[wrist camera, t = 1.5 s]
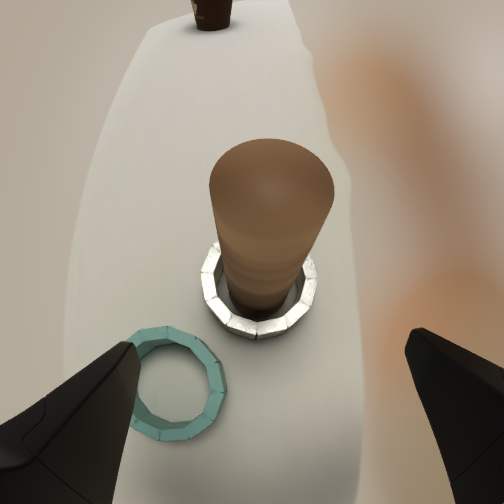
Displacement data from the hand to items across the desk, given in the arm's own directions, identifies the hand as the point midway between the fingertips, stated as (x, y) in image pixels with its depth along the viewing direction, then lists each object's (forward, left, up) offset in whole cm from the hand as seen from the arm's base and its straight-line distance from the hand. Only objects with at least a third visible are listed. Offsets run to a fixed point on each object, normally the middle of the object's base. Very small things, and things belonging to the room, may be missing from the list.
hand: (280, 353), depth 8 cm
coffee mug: (+60, -4, -12) cm, 61 cm away
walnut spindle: (+6, -1, -12) cm, 13 cm away
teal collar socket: (0, +7, -12) cm, 14 cm away
